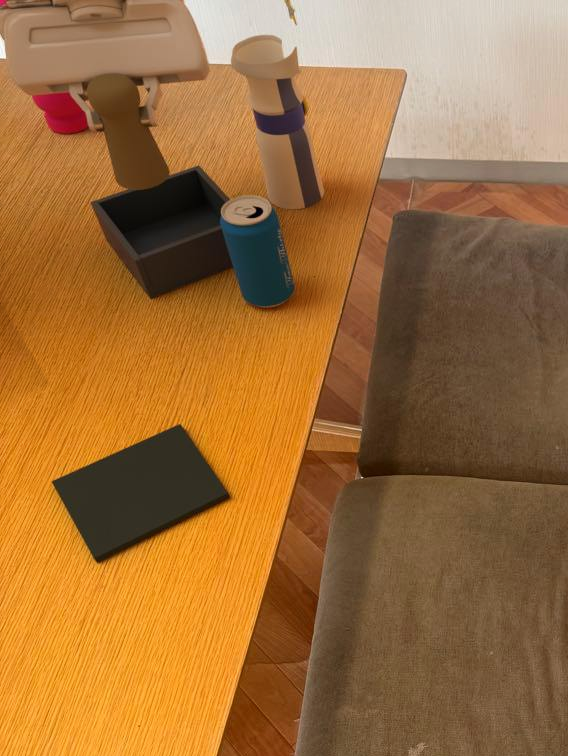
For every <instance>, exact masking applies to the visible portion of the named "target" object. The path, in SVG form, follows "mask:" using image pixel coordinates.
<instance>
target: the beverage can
mask: <svg viewBox="0 0 568 756" xmlns="http://www.w3.org/2000/svg"><path fill="white" fill-rule="evenodd" d="M220 225H221V228H222V232H223V235H224V238H225V241H226V245H227V248H228V251H229V254H230V258H231V261H232V264H233V267H232V268H233V271H234V273H235V278H236V280H237V283H238V288H239V290H240V293H241V297H242V298H243V300H244V301H245V302H246V303H247V304H250V305H252V306H255V307H259V308H263V309H268V308H269V309H270V308H275V307H278V306H281V305H283V304H284V303H285V302H287V301H288V300H289V299H290V298H291V297H292V296H293V294H294V293H295V289H296V286H295V285H296V284H295V281H294V277H293V273H292V269H291V265H290V260H289V256H288V252H287V248H286V245H285V239H284V235H283V232H282V228H281V224H280V220H279V216H278V213H277V211H276V209H275V208H274V207H273V206H272V203H271V202H270V201H269V199H268V198H267V199H266V198H265V197H263V196H260V195H255V194H245V195H239V196H236V197H233V198H231V199H230V200H229V201H228V202H226V203H225V204H224V205H223V207H222V209H221V219H220Z"/></svg>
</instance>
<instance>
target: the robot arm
mask: <svg viewBox="0 0 568 756" xmlns="http://www.w3.org/2000/svg"><path fill="white" fill-rule="evenodd" d="M8 7H9V9H6V8H8ZM0 37H1V39H2V40H3V42H4V53H5V59H6V68H7V72H8V76H9V78H10V80H11V82H12V83H13V84H14V85H15V86H16V87H17V88H18V89H20V90H21V91H22V92H24V94H26V95H28V96H32V95H43V94H54V93H66V92H70V95H71V96H72V98H73V99H74V100H75V101H76V102H77V104H78V105H79V106H80V107H81V108H82V110H83V111H84V112H85V113H86V117H87V121H88V126H89V127H88V128H89V130H90V131H91V132H92V133H104V126H103V123H102V121H101V117H100V115H99V114H98V113H97V112H96V111H95V110H92V109H91V107H90V106H89V105H88V104H87V103H86V101H87V102H89V100H88V95H87V87H88V84H89V82H90V81H91V80H92V79H94V78H95V77H97V76H99V75H102V74H108V73H119V74H123V75H126V76H128V77H129V78H130V79H131V80H132V81H133V82H134V83H135V84H136V86H137V87H142V86H143V87H144V89H145V90H146V92H147V93H148V95H147V98H146V101H145V104H144V105H142V106H140V105H139V108H138V110H139V114H140V115H141V116H140V121H141V124H142V125H144V126H145V127H149V128H156V127H158V126H159V123H158V118H157V113H156V111H157V110H158V107H159V105H160V101H161V98H162V95H163V91H162V87H161V85H165V84H166V85H167V84H176V83H186V82H201V81H205V80H206V79H207V77H208V76H209V74H210V72H211V67H210V62H209V59H208V55H207V51H206V48H205V45H204V42H203V40H202V37H201V33H200V31H199V29H198V26H197V24H196V21H195V19H194V17H193V16H192V13H191V12H190V10H189V8H188V6H187V5H186V3H185V0H7V3H5V4H3V5H2V6H0ZM84 100H85V102H84Z"/></svg>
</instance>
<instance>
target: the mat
mask: <svg viewBox="0 0 568 756" xmlns="http://www.w3.org/2000/svg"><path fill="white" fill-rule="evenodd" d="M51 483H52V485H53V487H54V489H55V490H56V493H57V494H58V496H59V498H60V499H61V501H62V503H63V505H64V507H65V509H66V511H67V513H68V514H69V516H70V518H71V520H72V521H73V523H74V525H75V527H76V529H77V530H78V533H79V534H80V536H81V538H82V540H83V541H84V543H85V545H86V547H87V549H88V551H89V553H90V554H91V556H92V558H93V559H94V562H96V563H100V562H102V561H103V560H106V559H108V558H110V557H112V556H114V555H116V554H118V553H120V552H122V551H125V550H127V549H128V548H131V547H132V546H134V545H136V544H138V543H140V542H143V541H145V540H146V539H149V538H151V537H153V536H155V535H157V534H159V533H161V532H162V531H165V530H167V529H169V528H171V527H173V526H175V525H178V524H179V523H181V522H184V521H186V520H187V519H189V518H191V517H193V516H195V515H197V514H199V513H201V512H204V511H206V510H208V509H210V508H212V507H214V506H216V505H218V504H219V503H222V502H225V501H226V500H228V499H230V498H231V497H230V494H229V492H228V490H227V489H226V487H225V486H224V485H223V483H222V482H221V480H220V479H219V477H218V476H217V474H216V473H215V472H214V470H213V469H212V467H211V466H210V464H209V463H208V461H207V460H206V458H205V457H204V456H203V454H202V453H201V451H200V449H199V448H198V447H197V446H196V444H195V442H193V440H192V438H191V437H190V434H188V433H187V431H186V429H185V428H184V427H183V426H182V424H181V423H179V424H176V425H174V426H172V427H169V428H168V429H165V430H163V431H161V432H158V433H155V434H154V435H152V436H149V437H147V438H144V439H142V440H141V441H138V442H136V443H134V444H132V445H129V446H127V447H125V448H123V449H121V450H118V451H115V452H114V453H111V454H110V455H109V454H108V455H107V456H105V457H103V458H101V459H98V460H96V461H94V462H91V463H88V464H87V465H85V466H83V467H80V468H78V469H76V470H73V471H71V472H69V473H67V474H65V475H63V476H60V477H58V478H55V479H53V480H51Z"/></svg>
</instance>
